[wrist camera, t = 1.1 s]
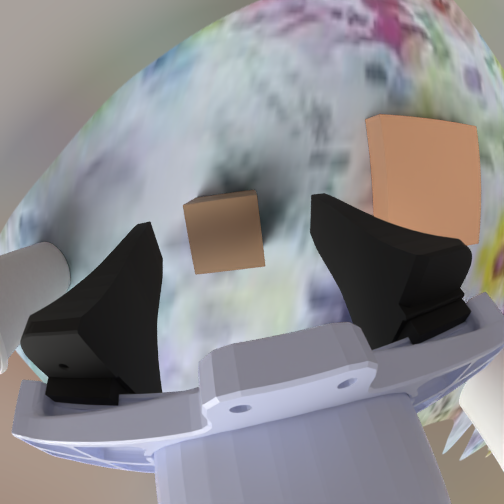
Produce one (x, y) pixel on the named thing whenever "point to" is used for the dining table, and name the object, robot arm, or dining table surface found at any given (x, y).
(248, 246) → the walnut block
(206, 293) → the dining table surface
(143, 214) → the dining table surface
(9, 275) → the coffee cup
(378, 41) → the dining table surface
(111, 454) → the robot arm
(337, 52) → the dining table surface
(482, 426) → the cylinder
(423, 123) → the terracotta plinth
